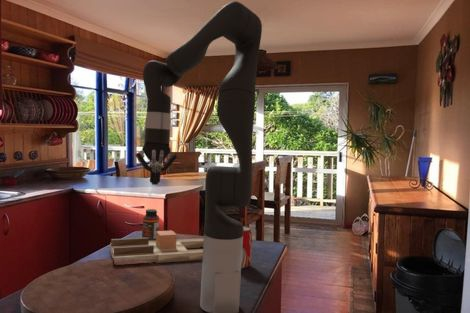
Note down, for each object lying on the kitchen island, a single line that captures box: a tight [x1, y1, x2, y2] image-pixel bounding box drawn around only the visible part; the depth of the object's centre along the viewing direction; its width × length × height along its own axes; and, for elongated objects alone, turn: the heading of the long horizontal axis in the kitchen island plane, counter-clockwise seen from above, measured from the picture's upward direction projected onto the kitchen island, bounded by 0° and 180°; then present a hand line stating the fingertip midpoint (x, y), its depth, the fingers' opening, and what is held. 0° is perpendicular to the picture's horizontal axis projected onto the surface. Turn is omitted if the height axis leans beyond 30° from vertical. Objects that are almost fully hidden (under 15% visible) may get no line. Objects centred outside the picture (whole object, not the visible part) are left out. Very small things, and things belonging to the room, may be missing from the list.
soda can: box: [241, 225, 253, 269], centre depth 123 cm, size 7×7×12 cm
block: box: [156, 230, 177, 249], centre depth 131 cm, size 6×6×4 cm
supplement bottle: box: [141, 208, 160, 241], centre depth 146 cm, size 6×6×11 cm
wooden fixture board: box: [109, 237, 204, 264], centre depth 131 cm, size 16×35×4 cm, turn 112°
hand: (154, 184), depth 120 cm, fingers closed
